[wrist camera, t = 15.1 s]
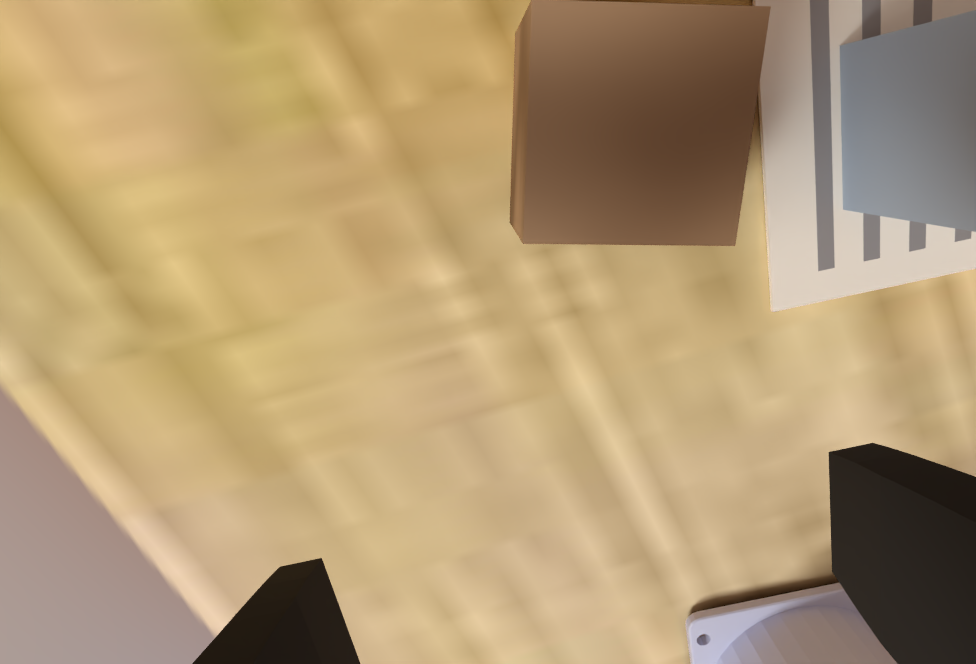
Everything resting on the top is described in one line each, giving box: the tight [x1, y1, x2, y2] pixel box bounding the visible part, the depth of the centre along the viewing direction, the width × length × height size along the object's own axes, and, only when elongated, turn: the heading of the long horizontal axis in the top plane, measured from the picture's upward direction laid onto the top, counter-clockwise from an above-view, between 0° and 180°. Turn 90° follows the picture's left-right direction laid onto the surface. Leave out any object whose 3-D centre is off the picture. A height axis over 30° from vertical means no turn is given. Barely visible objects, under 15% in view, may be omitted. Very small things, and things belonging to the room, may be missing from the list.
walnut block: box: [510, 0, 771, 246], centre depth 15 cm, size 5×5×4 cm
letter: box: [752, 0, 976, 312], centre depth 16 cm, size 12×9×1 cm
